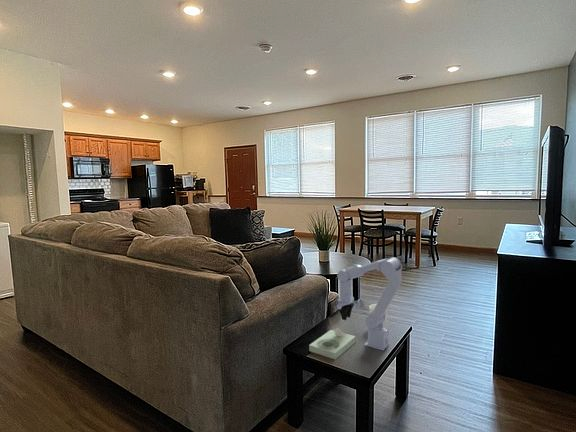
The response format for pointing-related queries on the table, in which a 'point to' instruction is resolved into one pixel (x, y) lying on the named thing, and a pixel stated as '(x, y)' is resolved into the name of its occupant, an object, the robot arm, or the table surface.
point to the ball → (338, 332)
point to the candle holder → (371, 308)
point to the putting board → (332, 344)
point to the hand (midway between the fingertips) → (346, 318)
